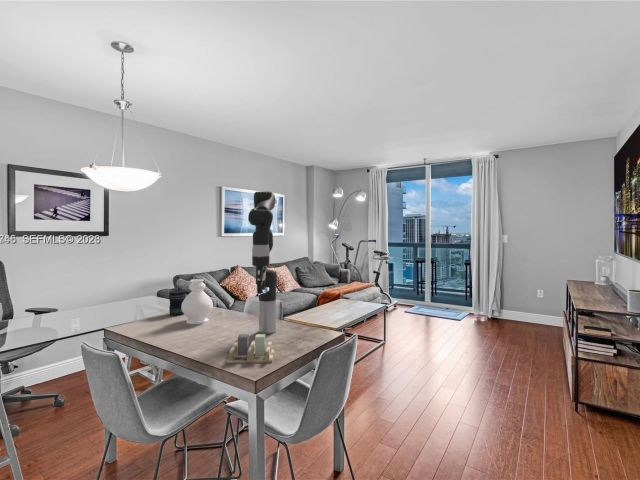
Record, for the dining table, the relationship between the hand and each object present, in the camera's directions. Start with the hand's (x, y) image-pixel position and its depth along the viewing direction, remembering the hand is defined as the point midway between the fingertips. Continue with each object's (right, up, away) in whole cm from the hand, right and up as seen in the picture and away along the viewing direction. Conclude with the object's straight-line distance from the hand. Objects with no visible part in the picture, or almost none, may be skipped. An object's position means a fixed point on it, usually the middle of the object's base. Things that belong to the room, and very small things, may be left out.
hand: (260, 291), depth 149 cm
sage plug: (0, -27, -1) cm, 27 cm away
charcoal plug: (-7, -27, -1) cm, 28 cm away
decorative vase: (-47, -26, +53) cm, 76 cm away
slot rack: (-4, -28, -1) cm, 28 cm away
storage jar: (-66, -25, +69) cm, 99 cm away
